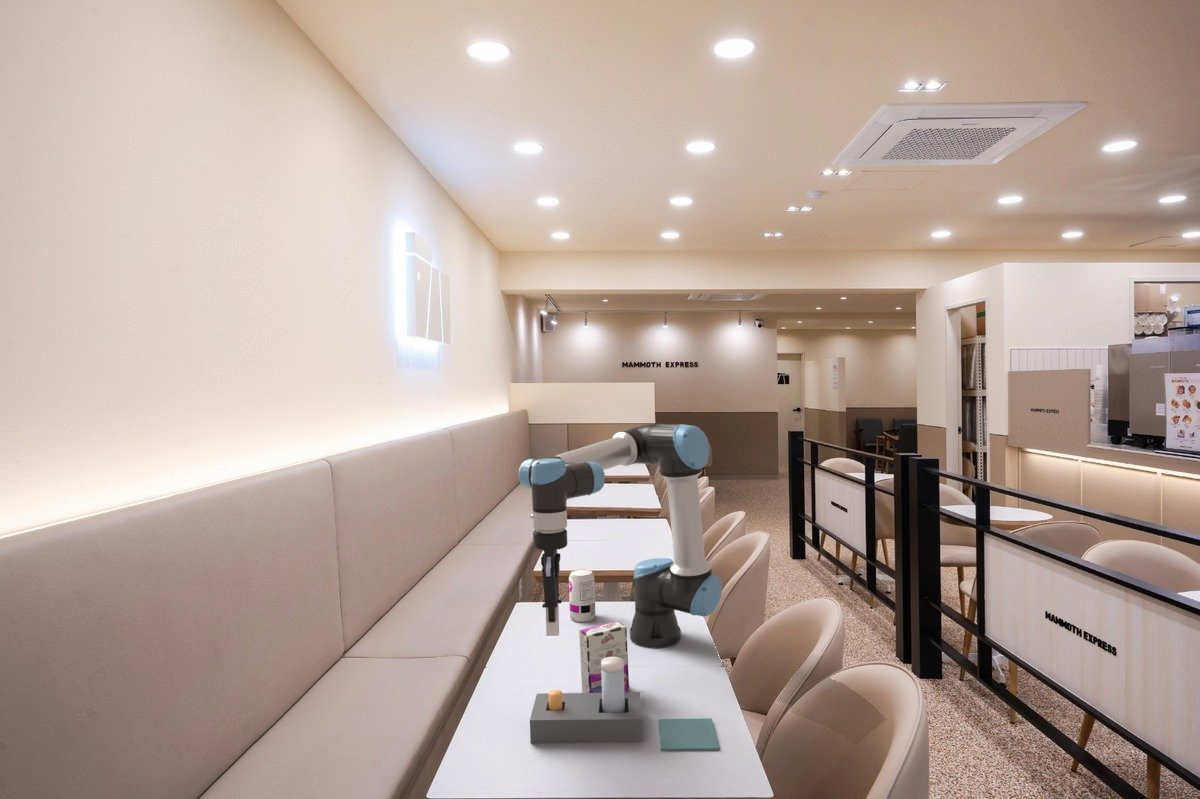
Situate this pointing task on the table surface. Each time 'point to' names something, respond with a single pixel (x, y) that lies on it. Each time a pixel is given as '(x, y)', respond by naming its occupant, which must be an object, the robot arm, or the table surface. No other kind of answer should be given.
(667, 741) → the mat
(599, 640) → the candy bar box
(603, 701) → the cylinder
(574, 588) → the supplement can
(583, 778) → the table surface
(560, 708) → the plunger
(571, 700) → the housing
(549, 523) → the robot arm
